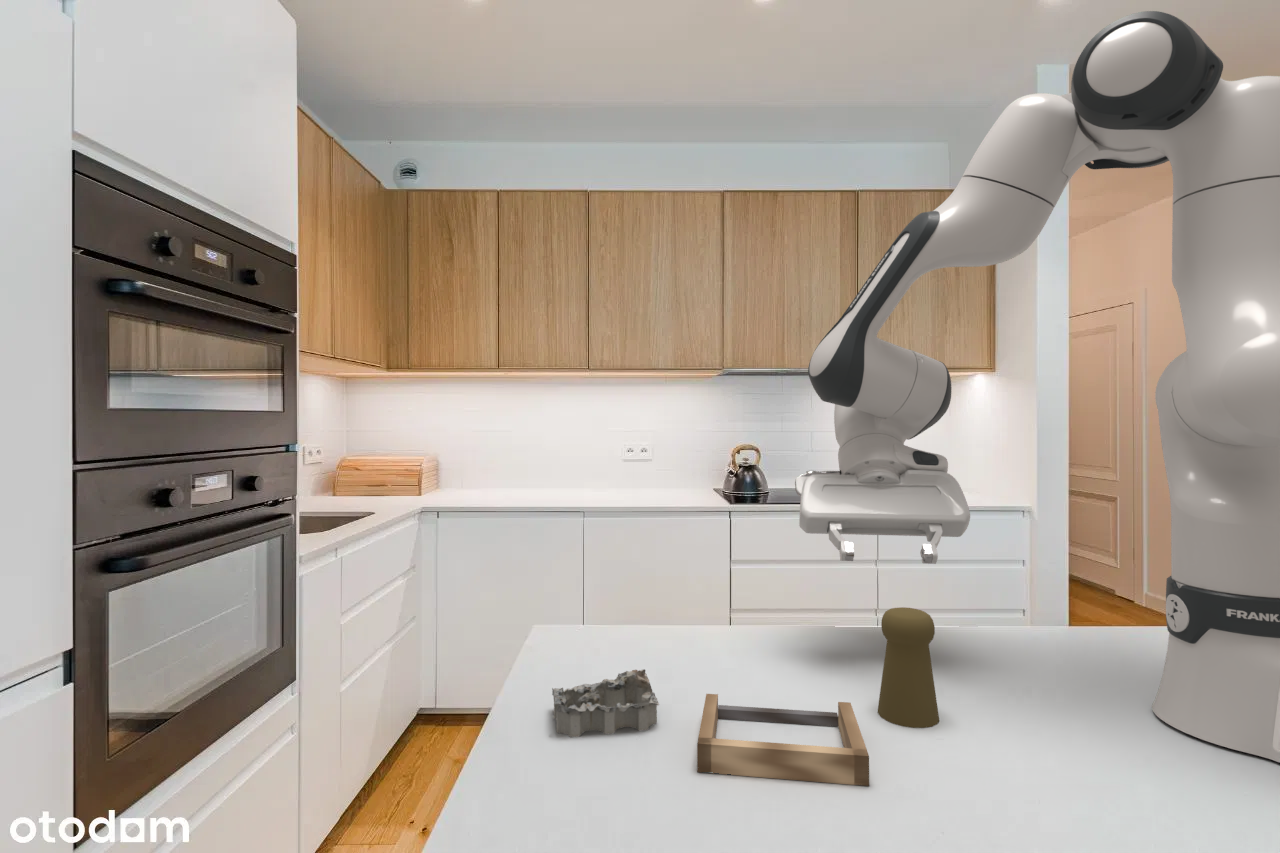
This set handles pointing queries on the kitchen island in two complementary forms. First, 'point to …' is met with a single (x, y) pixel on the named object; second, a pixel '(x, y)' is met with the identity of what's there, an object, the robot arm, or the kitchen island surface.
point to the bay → (783, 746)
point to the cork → (908, 669)
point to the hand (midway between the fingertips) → (888, 559)
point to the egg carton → (606, 705)
